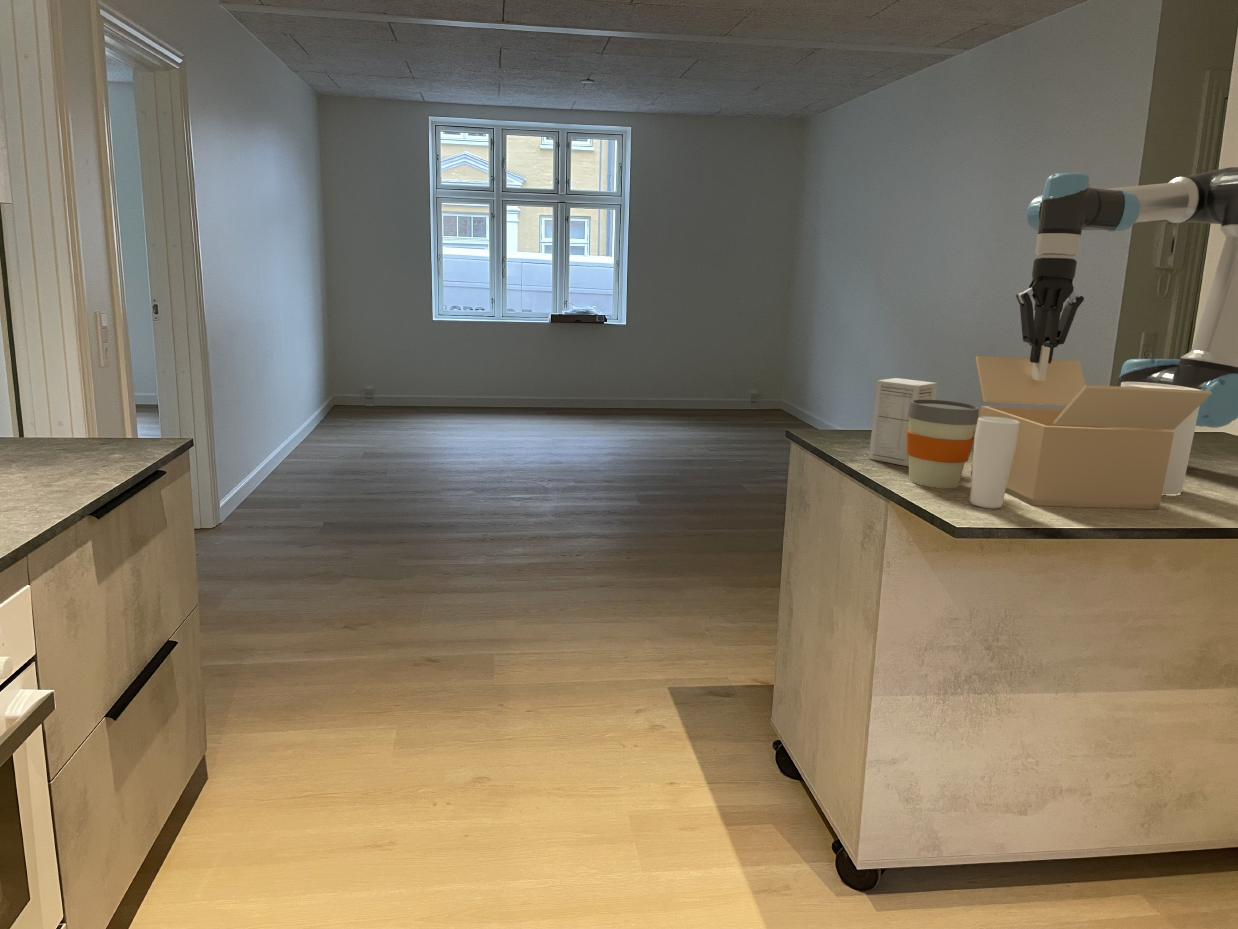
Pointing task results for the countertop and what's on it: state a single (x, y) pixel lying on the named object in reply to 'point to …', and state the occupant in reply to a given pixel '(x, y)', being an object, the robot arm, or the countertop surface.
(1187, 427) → the canister
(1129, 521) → the countertop surface
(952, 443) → the reusable coffee cup
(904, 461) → the supplement box
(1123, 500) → the carton
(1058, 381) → the flap
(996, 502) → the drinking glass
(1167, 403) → the flap
